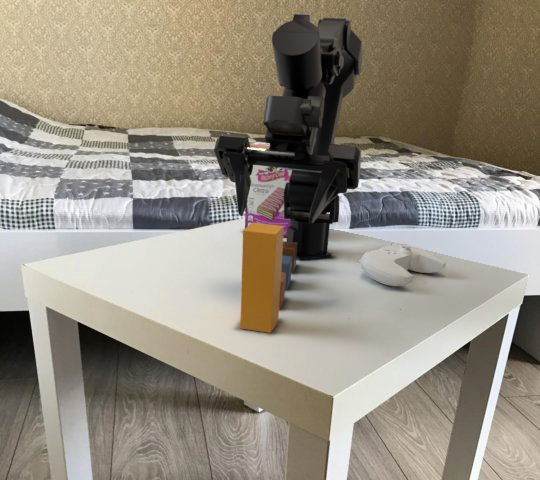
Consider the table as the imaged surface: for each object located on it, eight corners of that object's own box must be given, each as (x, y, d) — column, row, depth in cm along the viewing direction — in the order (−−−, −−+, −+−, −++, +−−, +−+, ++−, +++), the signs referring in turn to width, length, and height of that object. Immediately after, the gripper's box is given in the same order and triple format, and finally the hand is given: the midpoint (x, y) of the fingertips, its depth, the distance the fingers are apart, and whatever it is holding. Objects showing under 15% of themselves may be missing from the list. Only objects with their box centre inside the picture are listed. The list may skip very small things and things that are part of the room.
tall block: (248, 316, 76) (252, 222, 70) (278, 321, 75) (284, 225, 69) (240, 328, 72) (242, 230, 67) (270, 333, 72) (276, 234, 66)
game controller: (406, 275, 84) (354, 245, 89) (396, 300, 87) (346, 270, 92) (454, 257, 94) (404, 231, 99) (444, 280, 96) (396, 254, 101)
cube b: (265, 278, 89) (266, 253, 88) (290, 281, 89) (292, 256, 87) (261, 287, 86) (262, 261, 84) (287, 290, 85) (289, 264, 84)
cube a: (272, 263, 96) (273, 240, 94) (296, 265, 96) (297, 242, 94) (268, 271, 93) (270, 246, 91) (293, 273, 92) (295, 249, 90)
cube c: (256, 296, 83) (257, 269, 81) (284, 299, 82) (286, 272, 80) (252, 306, 79) (253, 278, 77) (280, 309, 79) (282, 281, 77)
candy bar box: (243, 232, 113) (246, 143, 105) (252, 226, 117) (255, 141, 110) (298, 240, 110) (304, 149, 102) (305, 233, 114) (312, 146, 107)
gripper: (219, 65, 71) (188, 171, 67) (369, 74, 68) (347, 186, 63) (236, 127, 82) (210, 222, 77) (367, 138, 78) (348, 238, 74)
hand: (274, 217), depth 73 cm, fingers open, 9 cm apart
